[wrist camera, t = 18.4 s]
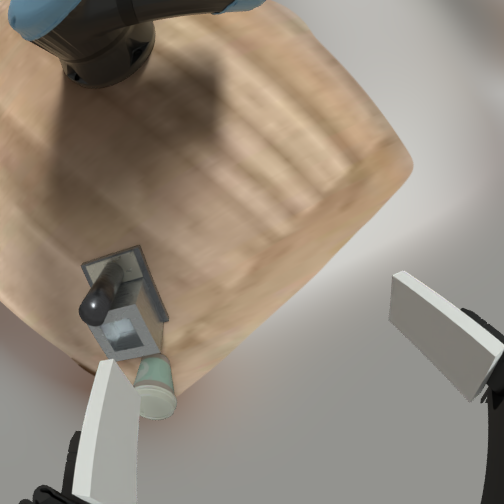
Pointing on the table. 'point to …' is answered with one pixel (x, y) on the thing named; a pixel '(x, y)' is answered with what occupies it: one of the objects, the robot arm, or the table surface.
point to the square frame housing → (129, 308)
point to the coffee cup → (155, 387)
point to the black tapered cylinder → (101, 295)
